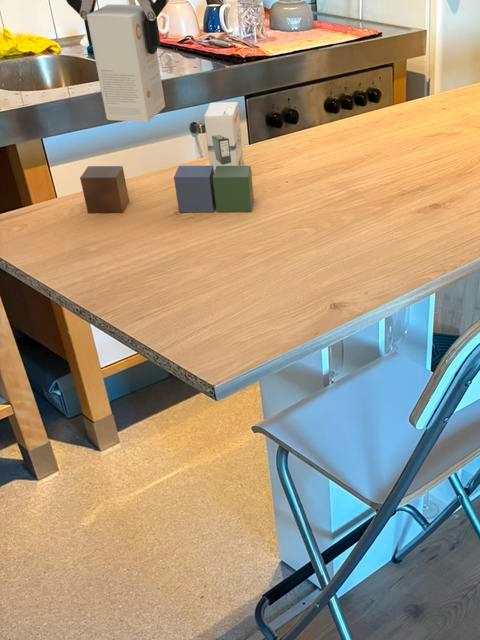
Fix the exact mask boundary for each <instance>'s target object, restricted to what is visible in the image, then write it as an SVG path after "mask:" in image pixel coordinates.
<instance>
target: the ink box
mask: <svg viewBox="0 0 480 640" xmlns="http://www.w3.org/2000/svg"><path fill="white" fill-rule="evenodd" d="M205 111H206V112H205V113H204V116H203V120H204V128H205V129H204V130H205V137H206V146H207V151H208V152H207V153H208V161H209V166H213V168H214V172H215V169H216V166H245V164H244V153H243V152H244V151H243V143H242V141H243V140H242V131H241V120H240V118H241V117H240V109H239V103H238V102H237V101H227V102H226V101H222V102H221V101H220V102H210V103H209V105H208V107H207V109H206V110H205Z"/></svg>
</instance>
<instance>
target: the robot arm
mask: <svg viewBox="0 0 480 640" xmlns="http://www.w3.org/2000/svg"><path fill="white" fill-rule="evenodd" d="M65 1H66V3H67V5H68V6H70V8H72V9H73V10H74V11H75V12H76V13H77V14H78V15H79V17H80V18H81V19H82V20H83V22H84V28H85V32H86V37H87V38H86V39H87V43H88V45H89V46H92V41H91V36H90V31H89V26H88V21H87V16H86V15H88V14H90V13H92V12H94V11H95V9H96V5H97V1H98V0H65ZM136 1H137V3H138V5H140V6H141V8H142V10H143V11H144V13H145V18H146V20H145V21H144V29H145V35H146V42H147V49H148V53H150V54H154V53H155V52H156V51H157V52H158V47H160V46H161V38H160V37H161V36H160V31H159V23H158V17H159V16H160V14H161V13H162V12H163V10H164V9H165V7H166V6H167V5H168V3H169V2H170V0H155V1H154V0H136Z"/></svg>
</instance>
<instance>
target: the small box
mask: <svg viewBox="0 0 480 640" xmlns="http://www.w3.org/2000/svg"><path fill="white" fill-rule="evenodd" d="M86 16H87V21H88V26H89V31H90V36H91V41H92V45H91V46H92V50H93V56H94V61H95V66H96V71H97V76H98V81H99V87H100V92H101V98H102V102H103V107H104V113H105V117H106V118H105V119H106V120H107V121H116V122H117V121H118V122H119V121H121V122H137V123H138V122H139V123H149V122H150V121H151V120H152V119H153V118H154V117H155V116H156V115H157V114H158V113H160V112H161V111H162V110H163V109H165V108H166V103H165V95H164V90H163V83H162V77H161V71H160V70H161V69H160V63H159V62H160V61H159V56H158V50H157V51H156V52H155V53H154V54H150V53H148V49H147V42H146V35H145V29H144V21H145V20H146V18H145V13H144V11H143V10H142V8H141V6H140V4H110V3H109V4H106V5H104V6H102V7H100V8H98V9H96V10H94V12H92V13H90V14H88V15H86Z"/></svg>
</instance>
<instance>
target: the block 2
mask: <svg viewBox="0 0 480 640" xmlns="http://www.w3.org/2000/svg"><path fill="white" fill-rule="evenodd" d="M213 175H214V168H213V166H210V165H178V166H177V169H176V171H175V173H174V176H173V181H174V188H175V195H176V202H177V207H178V213H214V212H215V209H216V200H215V192H214V184H213Z"/></svg>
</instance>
